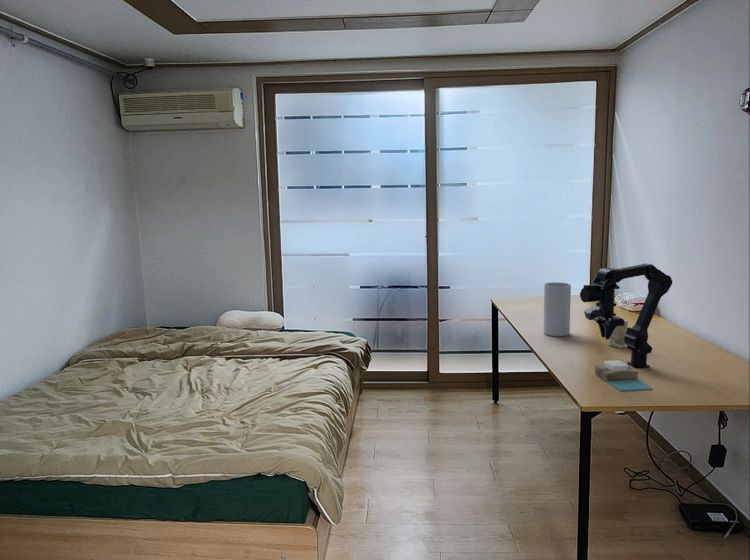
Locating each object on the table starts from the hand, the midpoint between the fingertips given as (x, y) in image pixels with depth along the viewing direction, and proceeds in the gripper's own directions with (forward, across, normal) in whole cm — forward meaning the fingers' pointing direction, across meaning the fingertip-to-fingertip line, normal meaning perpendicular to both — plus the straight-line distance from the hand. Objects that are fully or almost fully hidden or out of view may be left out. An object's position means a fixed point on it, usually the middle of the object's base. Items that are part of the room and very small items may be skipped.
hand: (605, 338), depth 236 cm
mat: (+13, +20, 0) cm, 24 cm away
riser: (+13, +10, 0) cm, 16 cm away
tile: (+10, +9, 0) cm, 13 cm away
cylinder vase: (+13, -58, +4) cm, 59 cm away
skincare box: (+13, -30, +22) cm, 40 cm away
